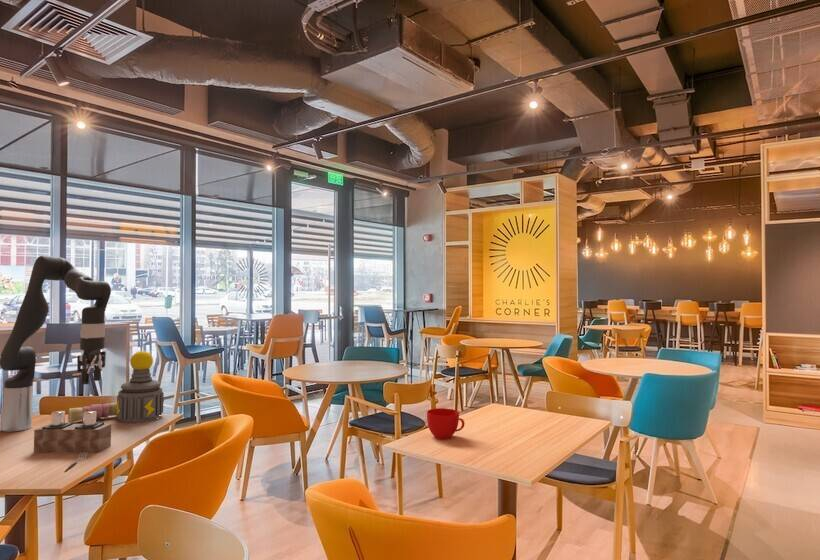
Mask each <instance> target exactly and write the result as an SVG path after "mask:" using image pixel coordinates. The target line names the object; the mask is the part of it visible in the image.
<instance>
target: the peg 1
mask: <svg viewBox="0 0 820 560" xmlns="http://www.w3.org/2000/svg"><path fill="white" fill-rule="evenodd" d="M50 418H51V422H50V424H51V427H61V426H63V425H65V423H66V411H65V410H58V411H53V412H51V417H50Z"/></svg>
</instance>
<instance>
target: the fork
mask: <svg viewBox="0 0 820 560" xmlns="http://www.w3.org/2000/svg"><path fill="white" fill-rule="evenodd" d="M87 456H88V452H87V453H86V452H85V453H79V455H78V456H77V458H76V461H75V462H74V463H72V464H70V465H69V466H68V467H67V468H65V470H64V473H66V472H68V471H70V470H71V469H72V468H73V467H76V465H77V464H78V463H79V462H80V460H86V458H87ZM77 459H78V460H77Z"/></svg>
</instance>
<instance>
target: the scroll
mask: <svg viewBox="0 0 820 560" xmlns="http://www.w3.org/2000/svg"><path fill="white" fill-rule="evenodd" d="M116 404H117V401H115V402H112V403H108V402H107V403H104V404H101V403H94V404H90V405H88V406H82V407H69V409H68V416H67V423H76V422H80V421H82V422H83V413H84V412H88V411H96V412H97V416H96V420H99V421H101V420H102V419H105V418H109V417H113V416H116V415H117V408H116ZM116 417H117V416H116ZM100 419H101V420H100Z"/></svg>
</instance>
